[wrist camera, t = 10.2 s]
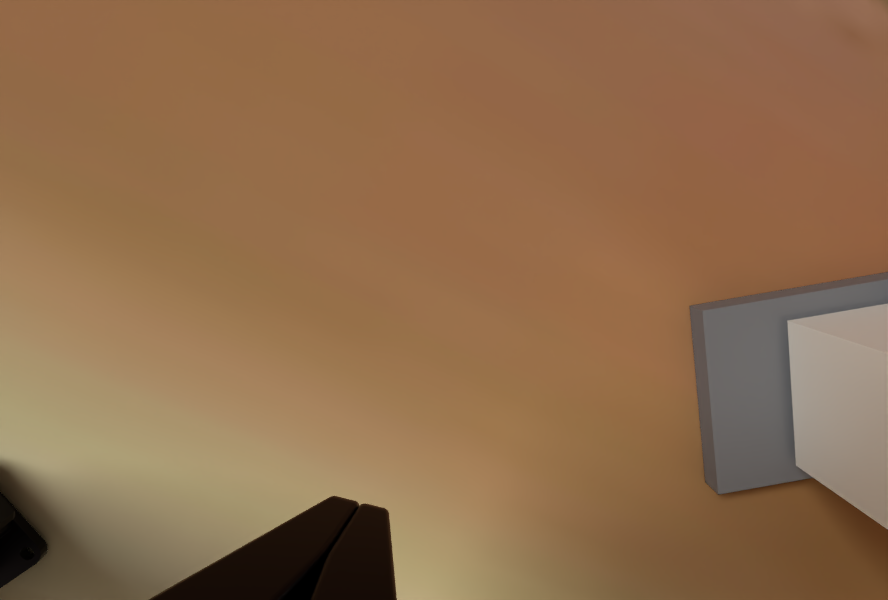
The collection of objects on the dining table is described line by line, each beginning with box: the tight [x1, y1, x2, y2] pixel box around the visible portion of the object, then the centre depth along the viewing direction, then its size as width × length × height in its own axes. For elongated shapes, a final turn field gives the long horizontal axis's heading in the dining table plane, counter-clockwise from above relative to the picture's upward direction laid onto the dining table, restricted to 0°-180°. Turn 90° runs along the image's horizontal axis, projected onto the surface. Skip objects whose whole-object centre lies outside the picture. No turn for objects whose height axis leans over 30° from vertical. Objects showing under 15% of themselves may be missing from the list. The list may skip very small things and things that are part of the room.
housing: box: [690, 272, 888, 494], centre depth 19 cm, size 8×7×8 cm
